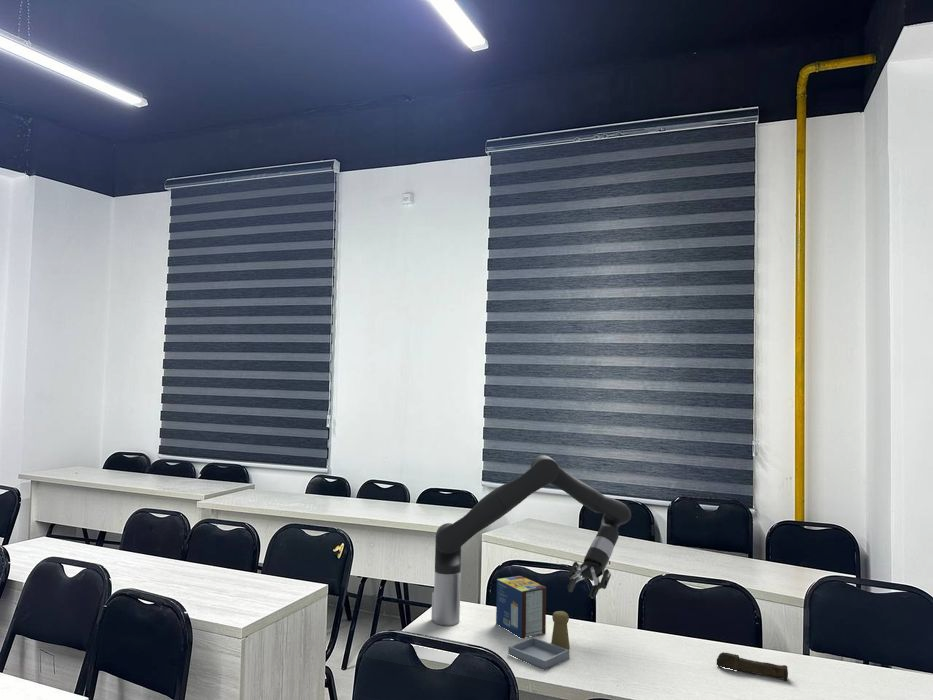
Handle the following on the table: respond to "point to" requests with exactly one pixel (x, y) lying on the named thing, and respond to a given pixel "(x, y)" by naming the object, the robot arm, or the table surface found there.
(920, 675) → the table surface
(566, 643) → the cork
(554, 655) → the tray
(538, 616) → the protein box
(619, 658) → the table surface
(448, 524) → the robot arm
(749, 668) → the hand tool
